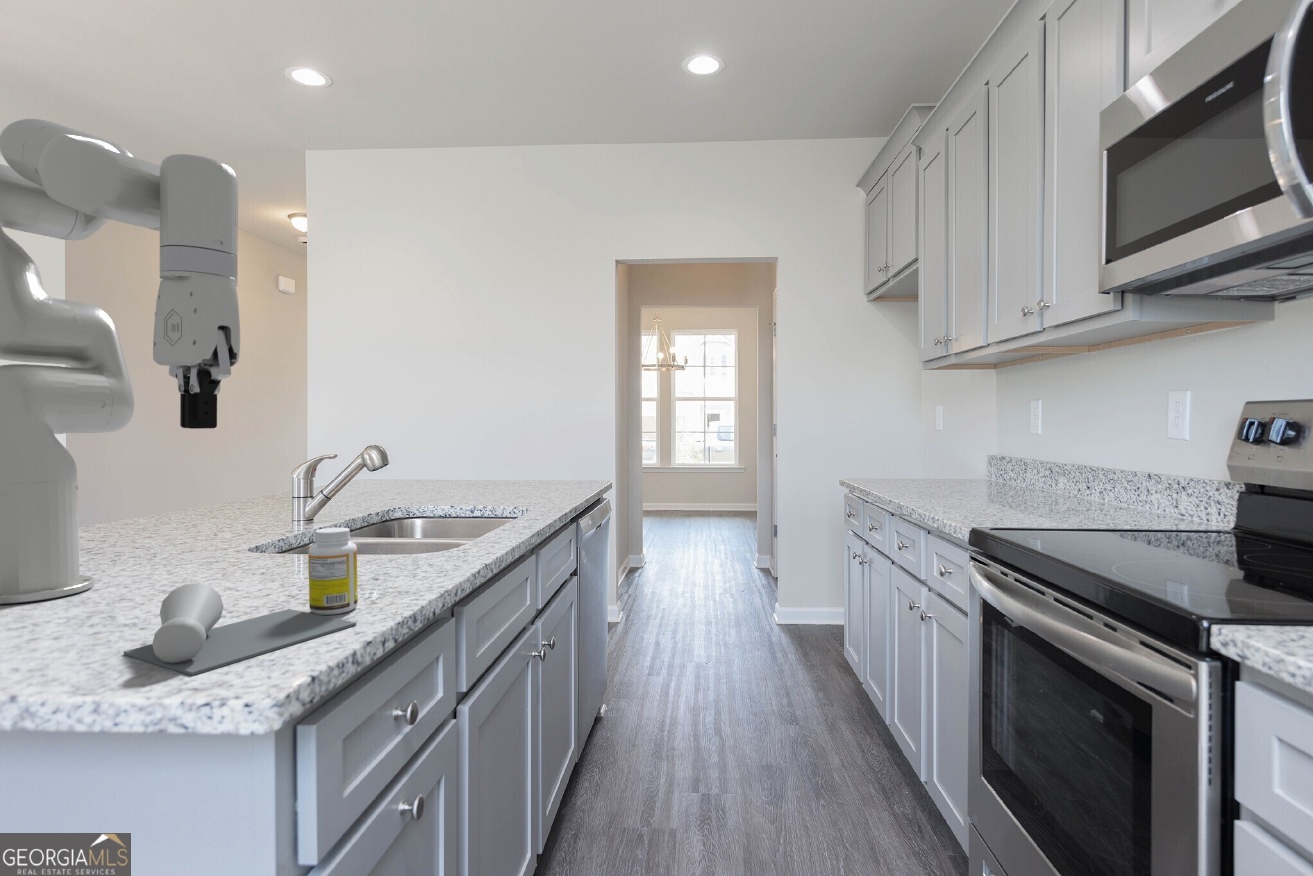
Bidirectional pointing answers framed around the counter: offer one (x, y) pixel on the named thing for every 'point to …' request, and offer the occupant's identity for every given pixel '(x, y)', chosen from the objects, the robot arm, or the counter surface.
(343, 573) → the supplement bottle
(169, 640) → the salt shaker
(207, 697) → the counter surface
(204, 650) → the mat
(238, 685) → the counter surface
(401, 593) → the counter surface
